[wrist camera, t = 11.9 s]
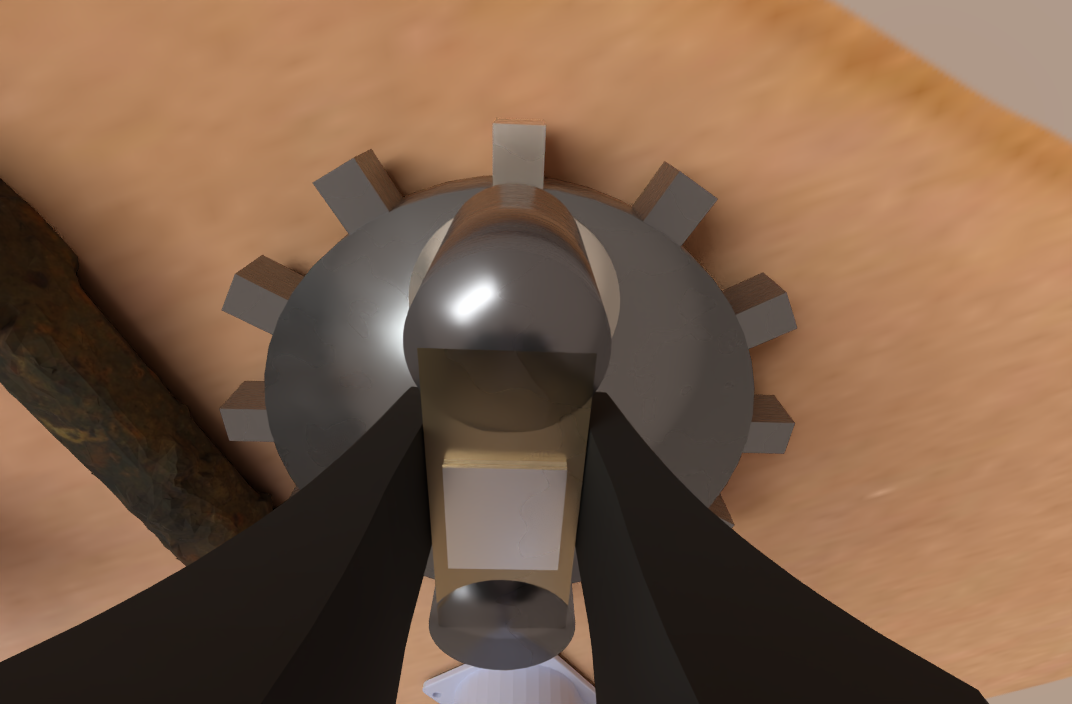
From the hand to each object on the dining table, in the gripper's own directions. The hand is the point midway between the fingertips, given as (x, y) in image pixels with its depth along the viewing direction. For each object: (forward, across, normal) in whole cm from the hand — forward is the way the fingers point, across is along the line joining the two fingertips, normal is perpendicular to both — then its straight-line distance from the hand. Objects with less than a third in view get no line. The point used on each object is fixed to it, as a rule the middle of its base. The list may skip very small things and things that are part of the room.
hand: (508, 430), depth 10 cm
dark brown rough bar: (+9, +15, +4) cm, 18 cm away
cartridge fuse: (+3, 0, 0) cm, 3 cm away
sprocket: (+8, 0, +5) cm, 10 cm away
